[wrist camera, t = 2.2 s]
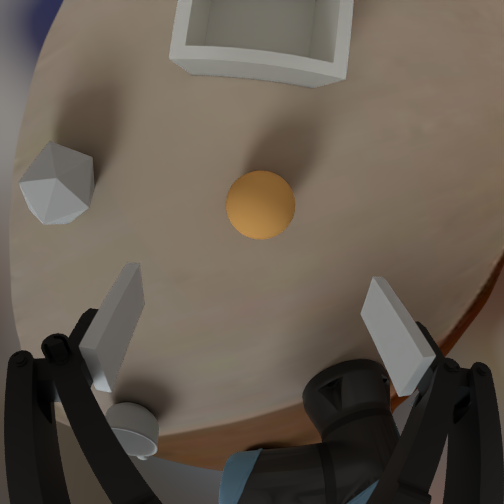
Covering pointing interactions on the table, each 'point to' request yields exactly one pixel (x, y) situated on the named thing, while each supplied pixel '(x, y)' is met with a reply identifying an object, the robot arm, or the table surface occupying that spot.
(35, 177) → the die
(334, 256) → the table surface
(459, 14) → the table surface
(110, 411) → the teacup
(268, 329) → the table surface
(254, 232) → the ball
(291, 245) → the table surface
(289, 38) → the white open box
